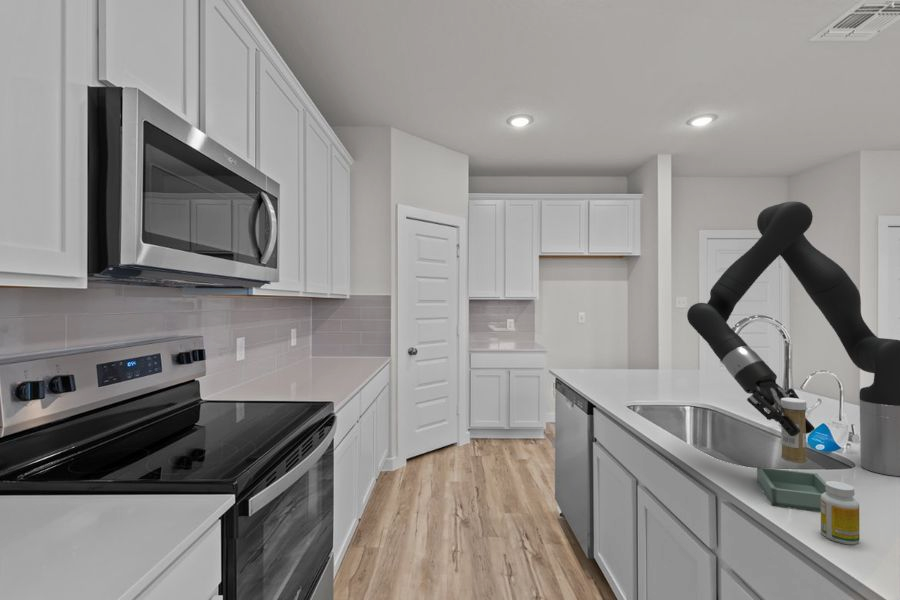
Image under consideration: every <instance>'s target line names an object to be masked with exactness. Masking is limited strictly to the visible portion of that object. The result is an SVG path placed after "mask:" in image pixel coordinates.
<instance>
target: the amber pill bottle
mask: <svg viewBox="0 0 900 600" xmlns="http://www.w3.org/2000/svg"><path fill="white" fill-rule="evenodd" d="M781 404H782V408H783V410H784V412H785V413H786V416H785V417H787V416H788V417H789V418H790V419H791V420H792V421H793V422H794V424H795V425H796V426H797V427H798V428H799V429H800V433H798V434H797V435H795V436H790V435H789V434H788V432H786V430H785V429H784V428H783V427H782V426H781V425H780V429H781V431H780V432H781V433H780V435H781V436H780V437H781V440H780V442H781V456H780V457H781V459H783V460H785V461H786V462H790V463H795V464H804V463H807V434H806V426H805V422H806V421H805V418H806V411H807V409H808V408H807V406H808V405H807V401H806V400H805V399H801V398H799V399H797V398H781Z"/></svg>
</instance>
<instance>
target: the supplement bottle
mask: <svg viewBox="0 0 900 600" xmlns="http://www.w3.org/2000/svg"><path fill="white" fill-rule="evenodd" d="M825 482H826V483H825V489H826V491H827V492H825V493H823V494H822V495H821V512H820V533H821V535H823V536H824V538H826V539H828V540H830V541H832V542H836V543H840V544H844V545H852V546H853V545H857V544H859V542H860V539H861V538H860V535H861V534H860V502H859V501H858V500H857V499H856V498H855V497H854V496H855V495H856V494H855V487H854V486H853V485H850V484H848V483H846V482H845V483H844V482H842V481H835V480H831V481H830V480H829V481H825Z"/></svg>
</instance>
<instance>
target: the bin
mask: <svg viewBox="0 0 900 600" xmlns="http://www.w3.org/2000/svg"><path fill="white" fill-rule="evenodd" d="M756 481H757V484H758V485H759V486H760V488H761V490H762V492H763V491H764V492H763V493H764V495H765V496H766V498H767V500H768V501H769V503H770V504H771V506H774V507H782V508H787V507H790V508H789V509H794V508H796V510H804V511H811V512H817V513H821V495H822V494H823V493H825V492H827V491H826V489H825V483H826V482H827V481H825V480H824V479H823V478H822V477H821V476H820V475H819V474H818V473H815V472H806V471H805V472H804V471H798V470H797V471H796V470H789V469H777V468H769V467H761V466H757V467H756Z"/></svg>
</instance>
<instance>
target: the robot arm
mask: <svg viewBox="0 0 900 600" xmlns="http://www.w3.org/2000/svg"><path fill="white" fill-rule="evenodd" d="M813 216H814V215H813V211H812V210H811V208H810V206H808V205H807V204H806V203H804V202H801V201H793V200H792V201H786V202H781V203H779V204H774V205H772V206H771V205H770V206H767V207H766V208H765V209H763V210H762V211H761V212H759V215H758V217H757V219H756V226H757V228H758V229H757V230H758V231H759V233H760V234H761V237H759V239H758V240H757V241H756V242H755V244H754V245H753V246H751V248H749V249H748V250H747V251H746V252H745V253H744V254H743V255H741V256H740V257H739V258H738V259H736V260H735V261H734V262H733V263H731V265H730V266H729V267H728V268H727V269H726V270H725V271H724V272H723V273H722V275H721V276H720V277H719V278H718V279H717V280H716V282H715V283H714V285H713V286H712V287H711V290H710V292H709V294H710V295H709V296H710V297H709V300H708V301H707V303H706V302H697V303H695V304H692V305H691V306H690V307H689V309H688V310H687V313H686V316H687V321H688V323H689V325H690V326H691V327H692V328H693V329H694V330H695V331H696V332H697V333H698V334H699V335H700V337H701V338H702V339H703V340H704V341H706V343H707V344H708V345H709V347H710V348H711V350H712V351H713V352H714V354H715V356H717V358H718V359H719V360H720V361H721V363H722V364H723V365H724V367H725V369H726V370H727V371H728V373H729V374H730V375H731V376H732V377H733V379H734V380H735V381H736V382H737V384H739V387H741V389H742V390H743V391H744V392H745V393H747V394H749V395H750V394H751V395H750V396H749V397H747V399H746V401H747V402H748V403H750V405H752V406H753V407H754V408H755V409H756V411H758V412H759V413H760V414H761V415H763V417H765V418H766V419H767V420H768V421H771V420H774V422H776V423H779V425H780V427H781V426H782V427H783V428H784V429H785V430H786V432H788V434H789V435H790V436H795V435H797V434H798V433H800V429H799V428H798V427H797V426H796V425H795V424H794V422H793V421H792V420H791V419H790V418H789V417H788V416H787V417H785V416H786V413H785V412H784V410H783V408H782V404H781V398H797V399H800V398H799V396H798V394H797V392H796V391H795V390H794V389H793V388H789V389H783V387H782V386H780V385H779V384H778V383H777V378H778V376H777V374H776V373H775V372H774V370H772V369H771V368H770V367H769V365H768V364H767V363H766V362H765V361H764V359H763V358H761V356H759V354H758V353H757V352H756V351H755V350H753V349H752V348H751V346H749V345H748V343H746V341H744V339H743V338H742V337H741V336H740V335H739V334H738V333H737V332H735V331H734V330H733V328H731V326H730V325H729V324H728V323H727V322H728V320H729V319H730V317H731V315H732V313H733V311H734V310H735V307H736V305H737V304H738V303H739V301H740V300H742V298H743V297H744V296H745V294H746V293H747V292H748V290H749V289H750V288H751V287H752V286H753V285H754V283H755V282H756V281H757V279H758V278H759V277H760V276H761V275H762V274H763V273H764V272H765V271H766V269H767V268H768V267H770V265H771V264H772V263H773V262H775V260H777V258H778V257H781V259H783V260H784V262H785V264H786V265H787V266H788V267H789V269H790V271H791V272H792V273H793V275H794V276H795V277H796V279H797V280H798V281H799V283H800V285H801V286H802V287H803V288H804V290H805V292H806V293H807V295H808V296H809V297H810V299H811V300H812V302H813V303H814V305H816V307H817V308H818V309H819V310H820V312H821V314H822V315H823V316H824V317H825V319H826V321H827V322H828V324H829V325H830V326H831V328H832V329H833V330H834V332H835V333H836V335H837V337H838V339H839V340H840V342H841V344H842V346H843V348H844V350H845V352H846V353H847V355H848V357H849V358H850V360H851V362H852V363H853V364H854V365H855V366H856V368H858V369H859V370H862V371H864V372H865V373H869V374H873V382H872V384H871V385H869V386H864V387H862V388H860V390H859V393H858V395H859V441H860V447H859V451H860V454H859V455H860V467H862V468H863V469H865V470H868V471H871V472H874V473H876V474H877V473H878V474H883V475H888V476H894V477H900V339H892V338H883V337H878V336H877V335H876V334H875V333H874V332H873V331H872V330H871V329H870V327H869V326H868V325H867V323H866V322H865V320H864V318H863V315H862V301H861V295H860V294H861V293H860V291H859V288H858V287H857V285H856V284H855V283H854V282H853V280H852V278H851V277H850V276H849V274H848V272H846V270H845V269H844V268H843V267H842V266H840V265H839V264H838V263H837V262H836V261H834V260H832V259H831V258H830V257H828V256H827V255H826V254H824V253H823V252H821V251H820V250H819V249H817V248H816V247H814V245H812V243H811V242H810V241H809V240H808V239H807V237H806V236H805V233H806V232H807V231H808V229H809V228H810V227H811V225H812V223H813V218H814V217H813ZM805 421H806V422H805V426H806V435H807V434H810V433H812V432H814V431H815V429H816V428H815V426H813V424H812V423H811V422H810V421H809V420H808V419H807V417H805Z"/></svg>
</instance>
